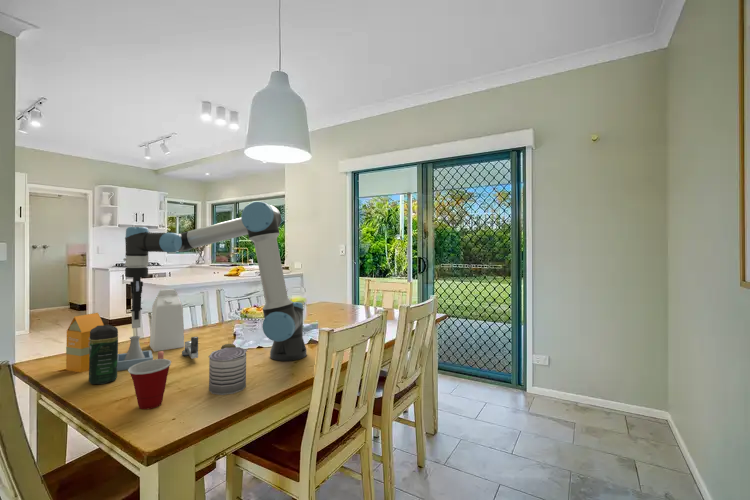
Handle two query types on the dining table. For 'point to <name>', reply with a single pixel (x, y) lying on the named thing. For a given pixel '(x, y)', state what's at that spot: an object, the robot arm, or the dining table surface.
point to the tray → (128, 363)
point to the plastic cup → (150, 382)
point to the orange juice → (80, 341)
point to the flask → (134, 349)
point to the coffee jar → (103, 354)
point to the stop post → (161, 355)
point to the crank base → (185, 353)
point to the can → (227, 371)
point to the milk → (167, 321)
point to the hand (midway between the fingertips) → (136, 327)
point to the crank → (192, 347)
